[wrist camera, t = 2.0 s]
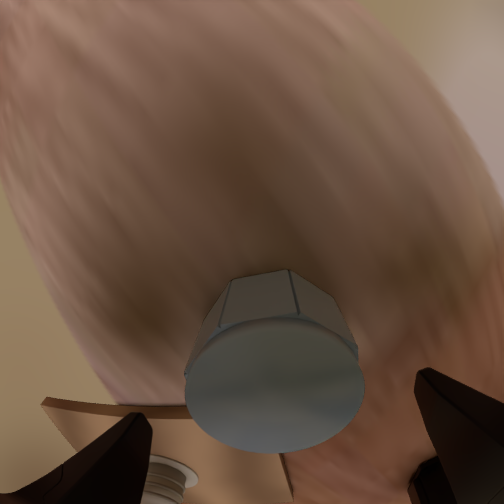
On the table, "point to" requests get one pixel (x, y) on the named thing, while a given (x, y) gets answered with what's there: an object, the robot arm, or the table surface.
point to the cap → (273, 366)
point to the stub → (181, 456)
